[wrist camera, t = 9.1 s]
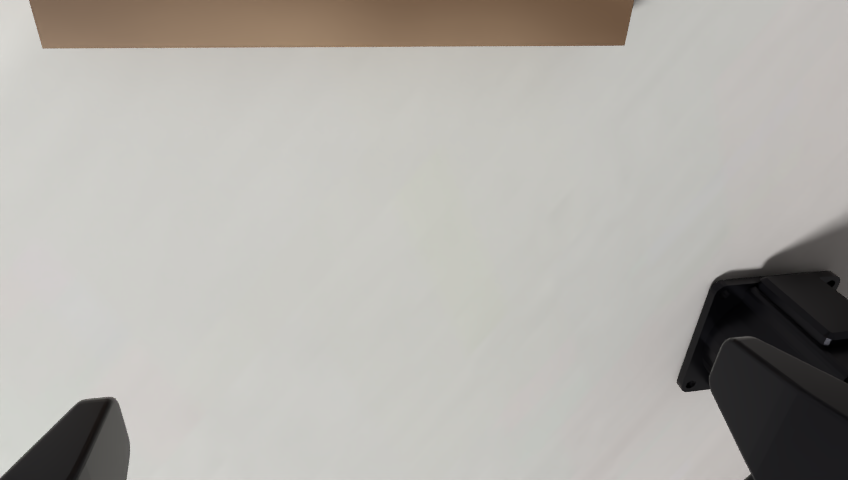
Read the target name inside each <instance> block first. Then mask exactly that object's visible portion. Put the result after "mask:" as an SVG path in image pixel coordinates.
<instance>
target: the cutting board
mask: <svg viewBox="0 0 848 480" xmlns="http://www.w3.org/2000/svg"><path fill="white" fill-rule="evenodd" d="M29 1H30V5H31V9H32V12H33V16H34V19H35V23H36V26H37V30H38V33H39V37H40V41H41V44H42V48H211V47H412V46H614V45H625V40H626V36H627V31H628V26H629V22H630V17H631V12H632V8H633V3H634V0H29Z"/></svg>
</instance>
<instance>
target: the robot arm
mask: <svg viewBox="0 0 848 480" xmlns="http://www.w3.org/2000/svg"><path fill="white" fill-rule="evenodd" d="M839 283H840V278H839V277H838V276H836V275H835V274H834V273H832V272H831V271H822V272H811V273H800V274H788V275H777V276H766V277H754V278H743V279H732V280H722V281H718V282H717V283H715V284H714V285H713V286H712V287H711V288H710V290H709V293H708V295H707V298H706V301H705V304H704V307H703V309H702V312H701V315H700V318H699V320H698V323H697V326H696V329H695V332H694V334H693V337H692V340H691V343H690V346H689V348H688V351H687V354H686V357H685V359H684V362H683V365H682V368H681V371H680V373H679V376H678V379H677V384H678V385H679V387H680V388H681V389H682V391H684V392H691V391H698V390H706V389H711V392H712V394H713V396H714V398H715V400H716V402H717V404H718V407H719V409H720V411H721V413H722V415H723V417H724V419H725V421H726V423H727V425H728V427H729V429H730V431H731V433H732V435H733V438H734V440H735V442H736V444H737V446H738V448H739V450H740V452H741V454H742V456H743V458H744V460H745V462H746V464H747V466H748V468H749V470H750V472H751V474H750V475H749V476H748V477H747V478H746V479H744V480H848V300H847V299H846V298H845V297H844V296H842V295H841V294H840V293H838V292H837V291H836V289H837V287H838V285H839ZM129 457H130V442H129V437H128V433H127V430H126V427H125V423H124V420H123V416H122V413H121V409H120V406H119V403H118V402H117V400H116V399H115V398H113V397H103V398H92V399H84V400H81V401H80V402H78V403H77V404H76V405H74V406H73V407H72V408H71V409H70V410H69V411H68V412H67V413H66V414H65V415H64V416H63V417H62V418H61V419H60V420H59V421H58V422H57V423H56V424H55V425H54V426H53V427H52V428H51V429H50V430H49V431H48V432H47V433H46V434H45V435H44V436H43V437H42V438H41V439H40V440H39V441H38V442H37V443H36V444H35V445H34V446H32V447H31V448H30V449H29V450H28V451H27V452H26V453H25V454H24V455H23V456H22V457H21V458H20V459H19V460H18V461H17V462H16V463H15V464H14V465H13V466H12V467H11V468H10V469H9V470H8V471H7V472H6V473H5V474H4V475H3V476H2V477H1V478H0V480H126V479H127V472H128V465H129Z"/></svg>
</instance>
